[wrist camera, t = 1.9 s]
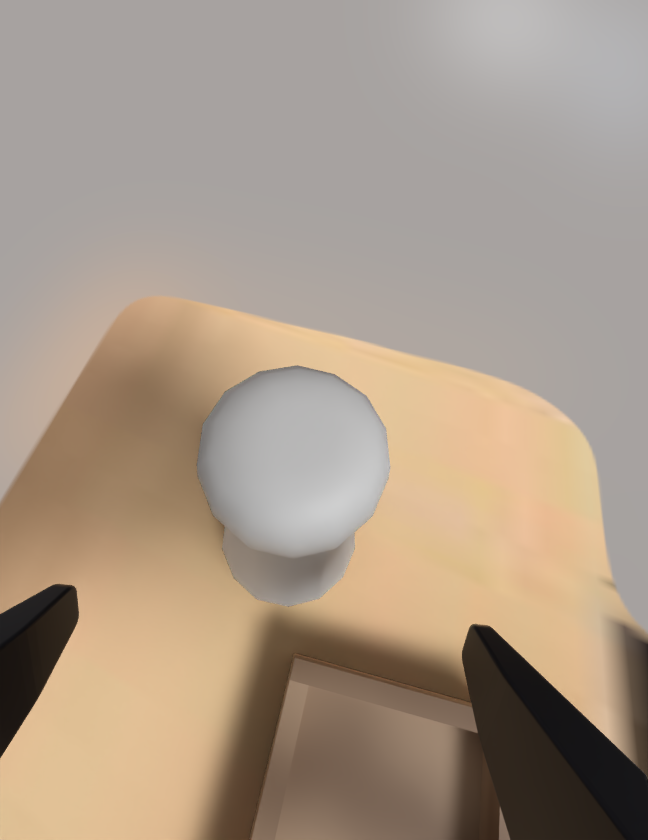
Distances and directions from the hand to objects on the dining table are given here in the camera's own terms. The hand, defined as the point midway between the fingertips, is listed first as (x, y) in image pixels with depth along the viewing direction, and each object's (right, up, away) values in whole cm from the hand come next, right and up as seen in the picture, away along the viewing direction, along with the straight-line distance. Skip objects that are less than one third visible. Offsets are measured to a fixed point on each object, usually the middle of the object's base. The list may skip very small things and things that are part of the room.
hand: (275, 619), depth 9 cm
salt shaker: (-1, -2, +11) cm, 11 cm away
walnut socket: (+3, -11, +6) cm, 13 cm away
